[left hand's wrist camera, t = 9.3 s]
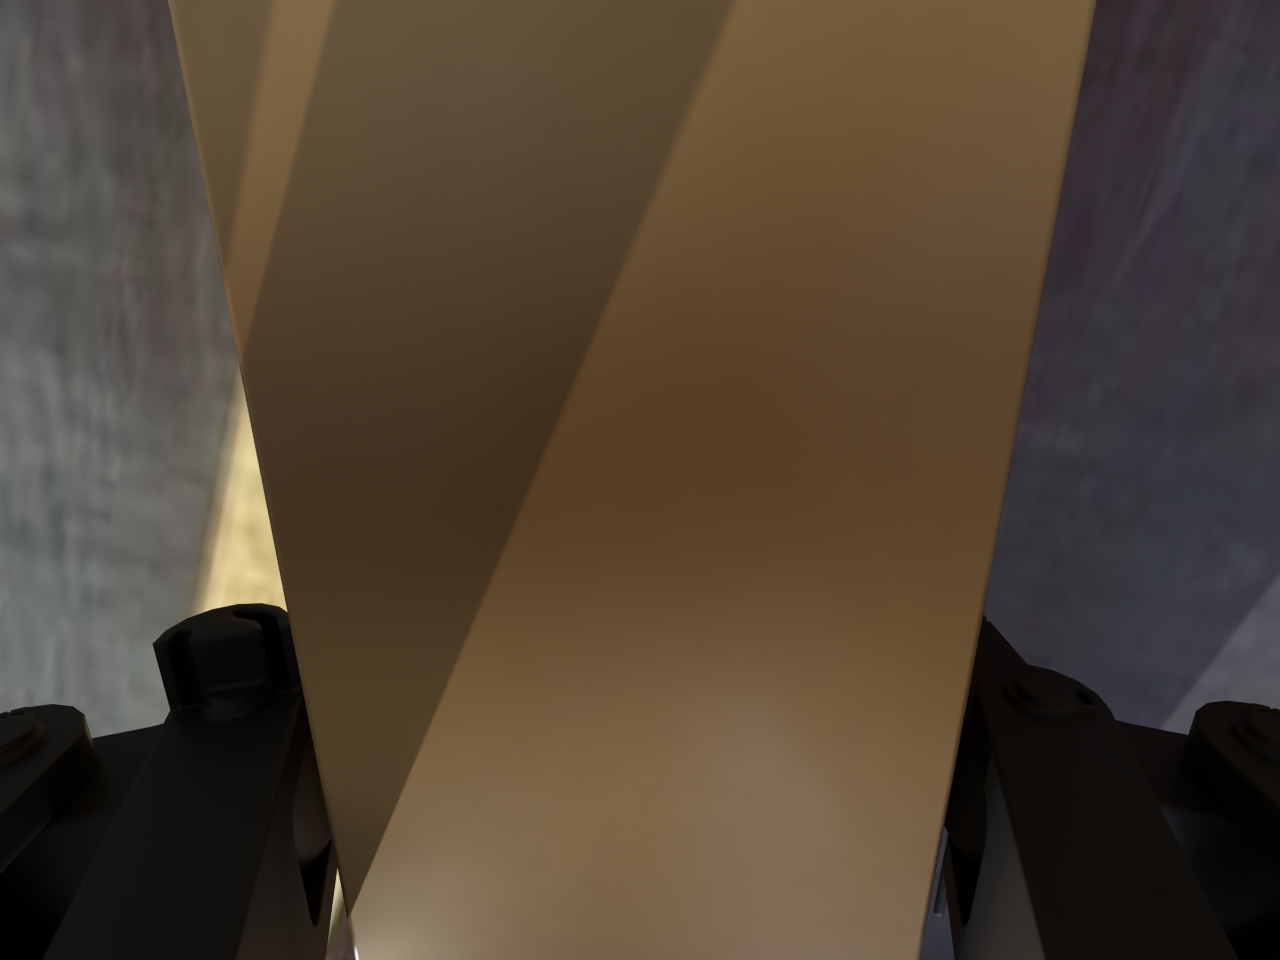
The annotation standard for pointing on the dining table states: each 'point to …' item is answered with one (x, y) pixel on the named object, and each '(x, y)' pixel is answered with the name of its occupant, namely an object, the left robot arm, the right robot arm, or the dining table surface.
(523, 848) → the bar
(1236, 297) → the dining table surface
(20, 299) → the dining table surface
